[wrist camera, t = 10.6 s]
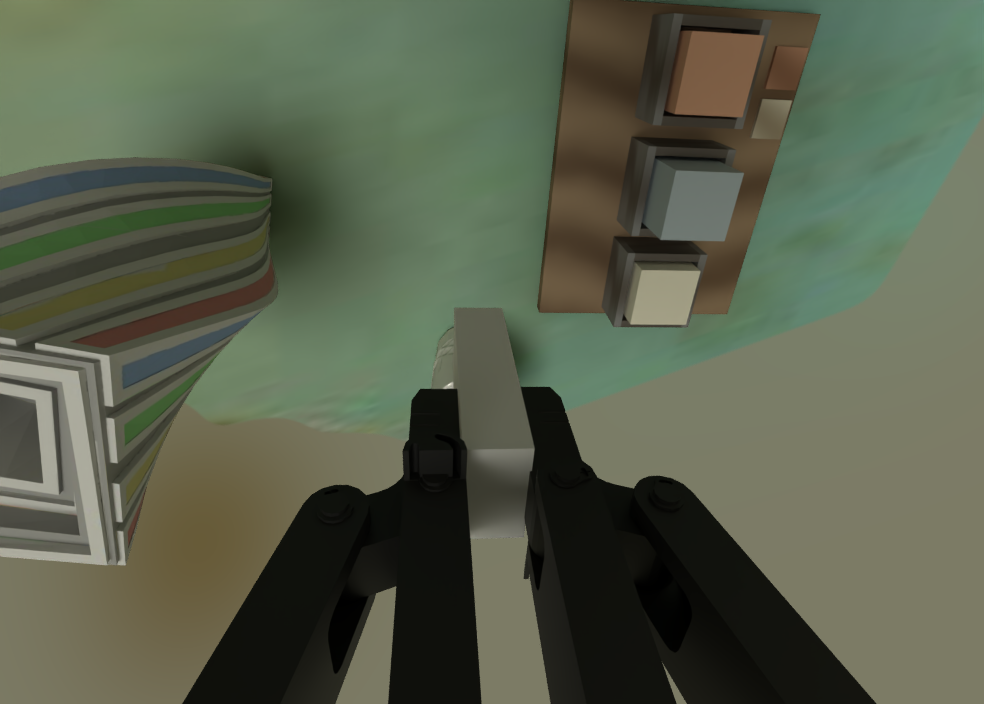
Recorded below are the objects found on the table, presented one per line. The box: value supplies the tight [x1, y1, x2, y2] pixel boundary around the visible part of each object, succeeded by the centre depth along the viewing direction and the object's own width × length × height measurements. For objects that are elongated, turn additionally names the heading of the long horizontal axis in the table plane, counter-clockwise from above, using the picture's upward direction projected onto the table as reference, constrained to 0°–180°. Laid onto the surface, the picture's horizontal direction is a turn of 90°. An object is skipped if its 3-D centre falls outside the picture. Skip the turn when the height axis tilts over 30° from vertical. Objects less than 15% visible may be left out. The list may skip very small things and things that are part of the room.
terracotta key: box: [664, 31, 764, 117], centre depth 37 cm, size 5×5×5 cm
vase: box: [0, 157, 278, 565], centre depth 30 cm, size 14×14×30 cm
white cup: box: [431, 328, 454, 389], centre depth 47 cm, size 8×8×10 cm
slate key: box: [642, 156, 744, 241], centre depth 39 cm, size 5×5×5 cm
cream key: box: [623, 261, 700, 325], centre depth 45 cm, size 5×5×5 cm
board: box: [537, 0, 821, 327], centre depth 42 cm, size 24×18×5 cm
